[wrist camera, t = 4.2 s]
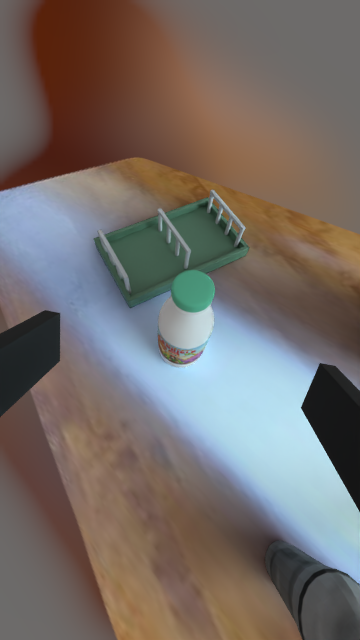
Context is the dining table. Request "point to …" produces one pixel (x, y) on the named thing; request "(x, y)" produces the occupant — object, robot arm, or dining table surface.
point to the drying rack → (170, 247)
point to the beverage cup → (315, 594)
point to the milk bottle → (186, 319)
